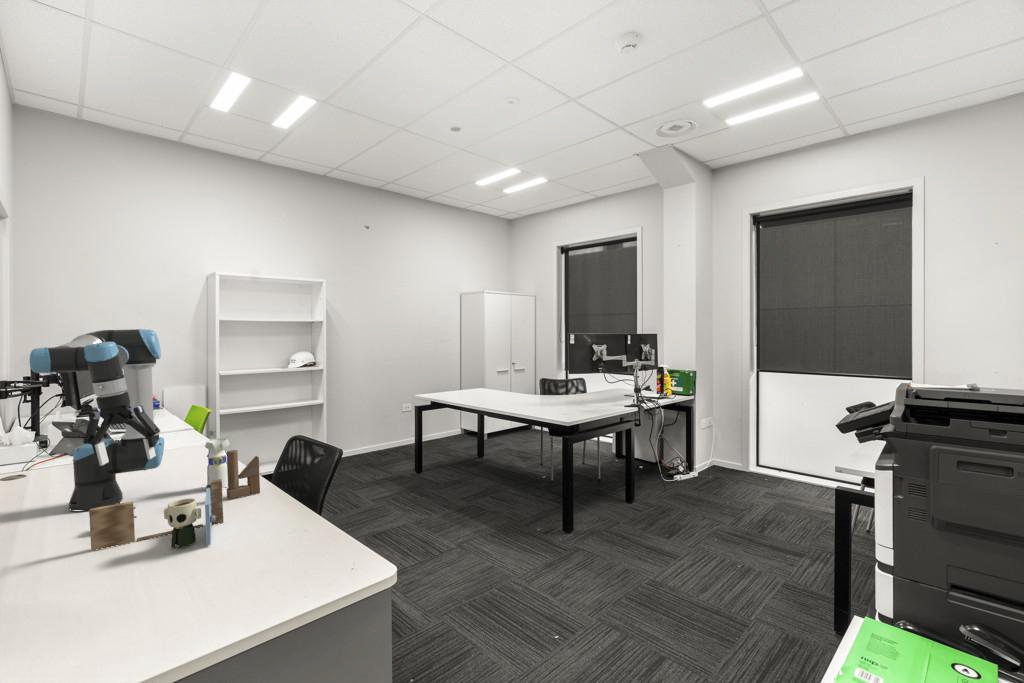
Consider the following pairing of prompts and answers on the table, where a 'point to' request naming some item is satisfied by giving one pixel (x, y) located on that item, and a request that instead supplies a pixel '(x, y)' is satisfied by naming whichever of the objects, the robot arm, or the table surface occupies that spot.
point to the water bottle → (217, 459)
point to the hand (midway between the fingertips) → (128, 460)
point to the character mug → (182, 521)
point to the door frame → (118, 520)
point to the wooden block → (242, 476)
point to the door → (208, 516)
